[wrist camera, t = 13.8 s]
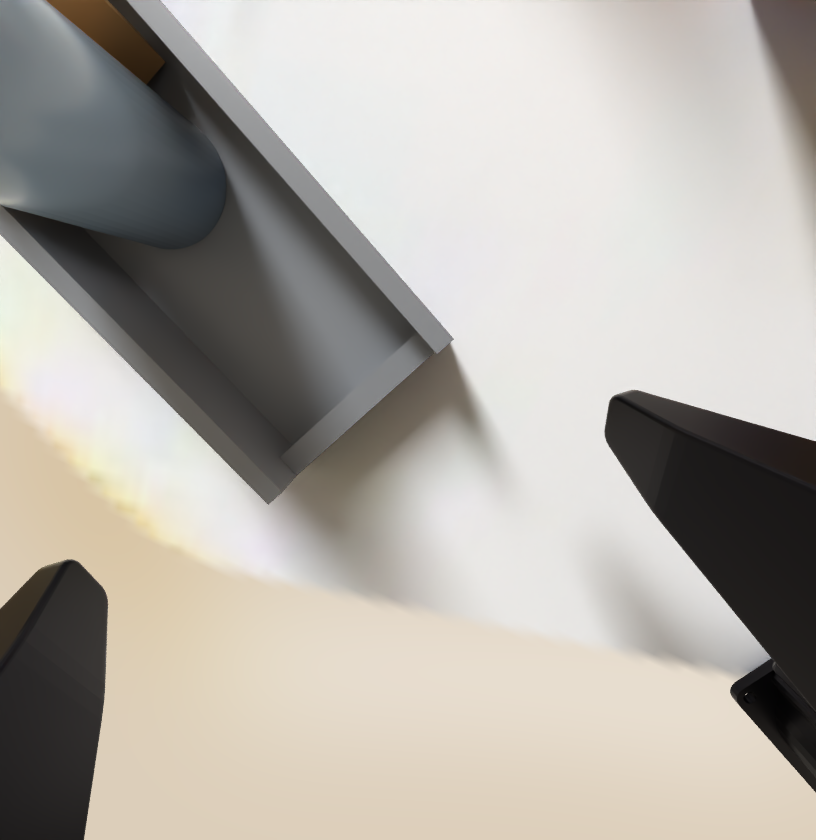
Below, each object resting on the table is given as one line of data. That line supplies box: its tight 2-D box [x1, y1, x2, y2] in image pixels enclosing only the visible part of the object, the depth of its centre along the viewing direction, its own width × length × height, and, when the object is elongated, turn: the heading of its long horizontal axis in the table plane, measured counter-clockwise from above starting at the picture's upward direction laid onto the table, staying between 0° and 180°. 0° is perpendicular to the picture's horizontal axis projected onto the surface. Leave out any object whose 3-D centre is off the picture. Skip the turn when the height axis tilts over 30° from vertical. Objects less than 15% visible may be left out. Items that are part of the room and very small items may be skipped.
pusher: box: [46, 0, 165, 85], centre depth 12 cm, size 1×5×5 cm, turn 132°
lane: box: [0, 0, 454, 504], centre depth 13 cm, size 16×7×6 cm, turn 42°
